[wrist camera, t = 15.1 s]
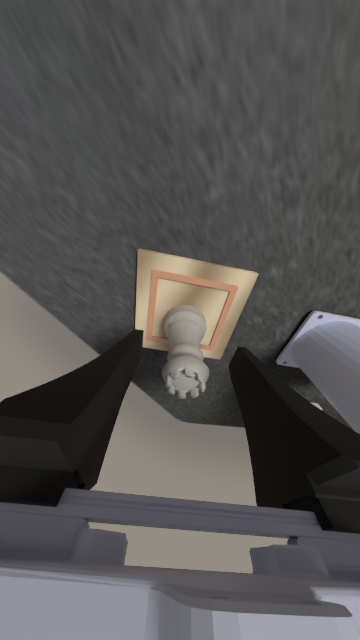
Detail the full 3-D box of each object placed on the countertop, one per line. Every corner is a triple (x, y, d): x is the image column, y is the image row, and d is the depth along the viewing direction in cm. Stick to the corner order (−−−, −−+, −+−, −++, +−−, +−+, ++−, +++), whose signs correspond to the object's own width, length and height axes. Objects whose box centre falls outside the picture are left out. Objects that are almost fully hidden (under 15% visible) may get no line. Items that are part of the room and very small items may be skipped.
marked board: (254, 271, 14) (259, 274, 13) (218, 355, 19) (220, 360, 18) (140, 248, 13) (137, 249, 12) (136, 341, 19) (134, 347, 18)
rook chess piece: (197, 296, 14) (208, 352, 8) (210, 330, 16) (229, 399, 10) (157, 312, 15) (135, 373, 9) (175, 342, 17) (168, 412, 11)
